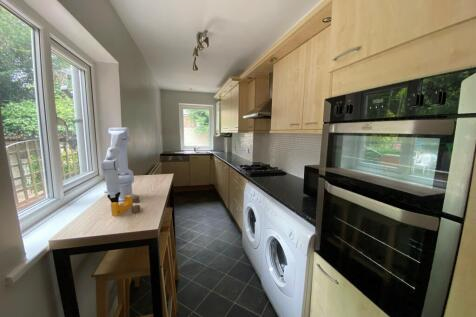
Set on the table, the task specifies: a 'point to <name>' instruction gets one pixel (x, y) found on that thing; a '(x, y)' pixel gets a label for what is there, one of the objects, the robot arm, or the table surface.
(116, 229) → the table surface
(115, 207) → the pipe clamp
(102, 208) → the table surface
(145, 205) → the table surface
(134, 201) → the post
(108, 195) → the robot arm
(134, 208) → the post
